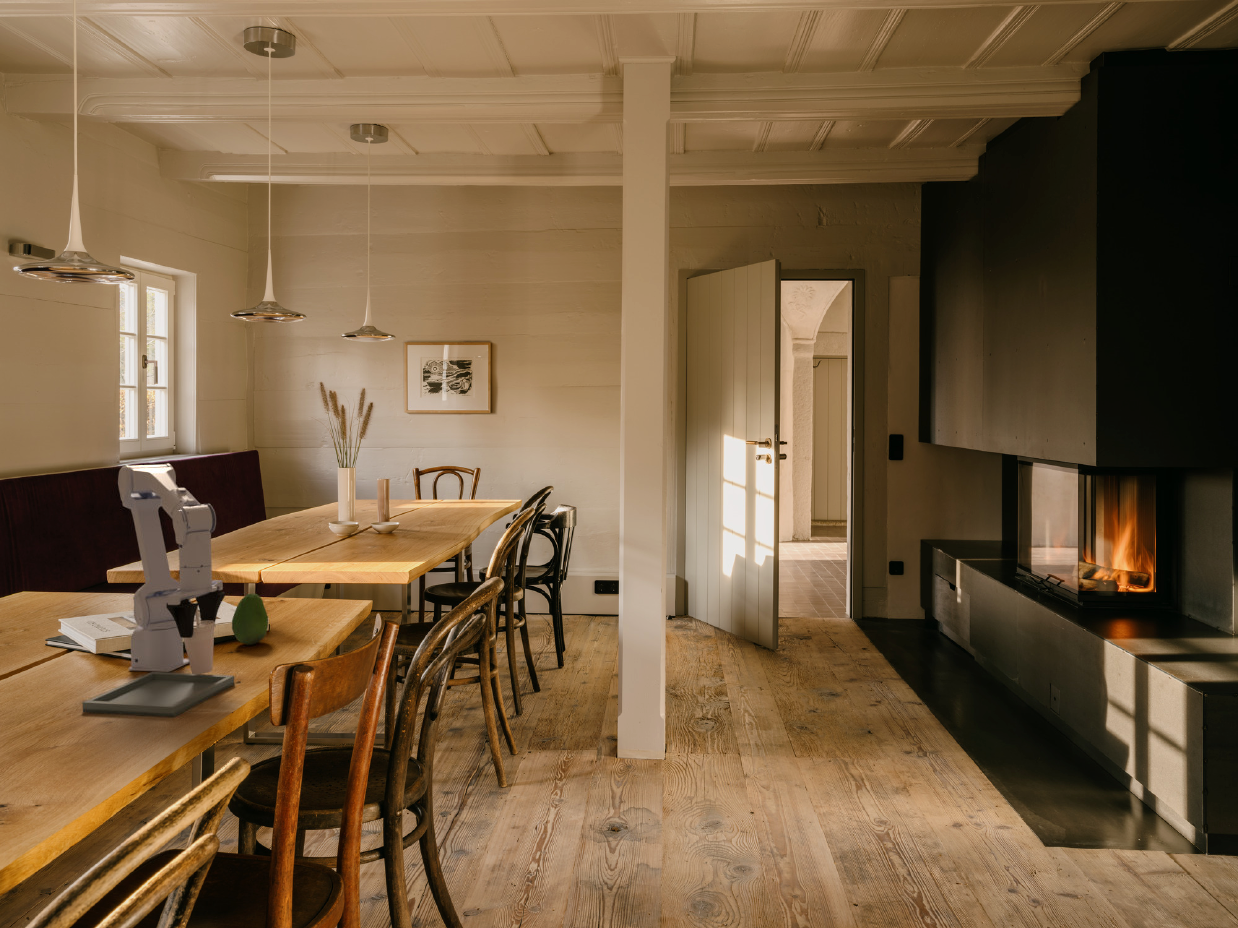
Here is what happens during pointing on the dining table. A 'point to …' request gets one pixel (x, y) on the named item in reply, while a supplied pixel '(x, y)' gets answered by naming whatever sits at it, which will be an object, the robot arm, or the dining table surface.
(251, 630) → the avocado
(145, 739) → the dining table surface
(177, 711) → the tray
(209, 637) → the smoothie
